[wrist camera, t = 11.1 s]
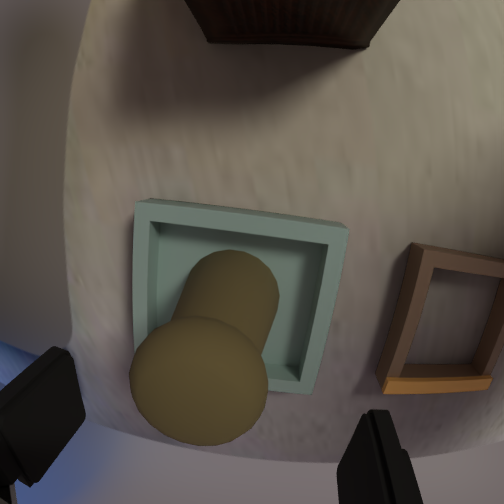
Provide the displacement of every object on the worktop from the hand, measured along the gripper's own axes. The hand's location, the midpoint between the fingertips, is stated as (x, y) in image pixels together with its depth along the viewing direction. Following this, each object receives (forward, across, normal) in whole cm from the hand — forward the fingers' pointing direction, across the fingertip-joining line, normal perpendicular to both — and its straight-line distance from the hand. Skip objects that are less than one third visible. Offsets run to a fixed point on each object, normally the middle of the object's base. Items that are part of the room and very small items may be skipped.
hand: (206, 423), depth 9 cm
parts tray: (+12, +1, +1) cm, 12 cm away
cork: (+12, +1, +1) cm, 12 cm away
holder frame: (+13, -15, +1) cm, 20 cm away
